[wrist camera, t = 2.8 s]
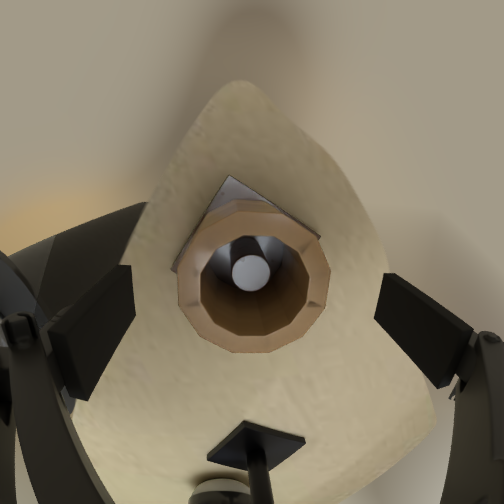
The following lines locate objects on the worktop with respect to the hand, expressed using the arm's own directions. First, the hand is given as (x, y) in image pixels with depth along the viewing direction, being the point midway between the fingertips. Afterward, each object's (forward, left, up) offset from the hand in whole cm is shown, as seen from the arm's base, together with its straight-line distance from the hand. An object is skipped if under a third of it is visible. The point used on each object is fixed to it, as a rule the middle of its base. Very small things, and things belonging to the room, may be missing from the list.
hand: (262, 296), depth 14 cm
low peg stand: (0, 0, -9) cm, 9 cm away
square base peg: (+15, -21, -9) cm, 27 cm away
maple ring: (0, 0, -8) cm, 8 cm away
